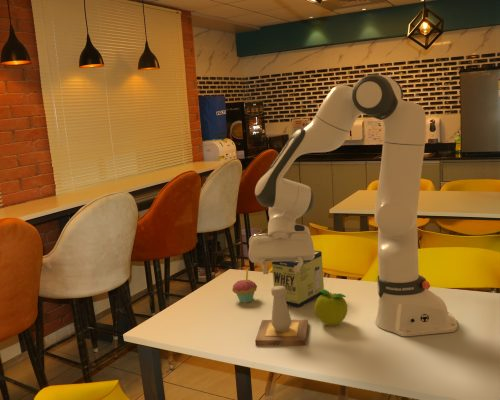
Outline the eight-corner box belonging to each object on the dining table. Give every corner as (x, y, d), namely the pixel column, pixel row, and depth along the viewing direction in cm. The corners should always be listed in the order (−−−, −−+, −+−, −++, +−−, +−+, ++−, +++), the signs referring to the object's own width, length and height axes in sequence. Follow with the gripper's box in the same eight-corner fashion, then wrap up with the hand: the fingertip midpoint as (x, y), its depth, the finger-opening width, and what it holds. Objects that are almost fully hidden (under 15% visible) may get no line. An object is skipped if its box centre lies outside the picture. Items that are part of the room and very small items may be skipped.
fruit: (328, 315, 161) (326, 284, 159) (353, 322, 154) (351, 290, 152) (309, 325, 154) (307, 293, 153) (335, 333, 148) (333, 300, 146)
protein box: (274, 302, 175) (270, 258, 172) (300, 288, 187) (297, 247, 184) (299, 308, 168) (295, 262, 166) (325, 293, 180) (322, 250, 177)
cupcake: (262, 297, 181) (259, 264, 179) (249, 306, 174) (246, 272, 172) (242, 294, 186) (239, 262, 184) (228, 302, 179) (225, 269, 177)
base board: (308, 324, 155) (307, 318, 155) (305, 345, 142) (305, 339, 141) (262, 324, 158) (262, 319, 158) (255, 345, 144) (255, 339, 144)
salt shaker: (281, 323, 153) (278, 282, 151) (296, 328, 149) (292, 285, 147) (268, 330, 149) (264, 287, 147) (282, 335, 145) (279, 291, 143)
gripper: (247, 229, 160) (245, 269, 152) (313, 226, 157) (314, 266, 149) (251, 239, 165) (248, 278, 157) (314, 236, 162) (315, 276, 154)
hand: (281, 272), depth 153 cm, fingers open, 8 cm apart
